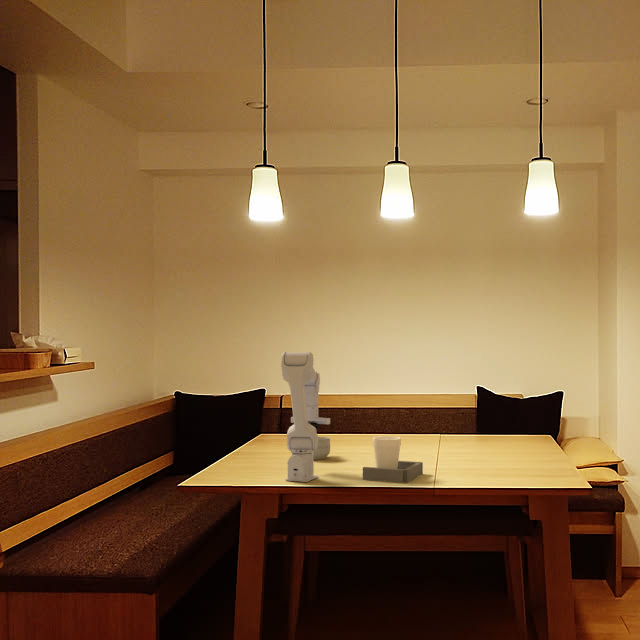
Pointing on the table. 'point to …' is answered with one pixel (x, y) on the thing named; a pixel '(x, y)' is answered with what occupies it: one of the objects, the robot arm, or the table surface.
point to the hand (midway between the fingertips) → (310, 443)
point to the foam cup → (386, 451)
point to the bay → (394, 472)
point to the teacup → (322, 448)
